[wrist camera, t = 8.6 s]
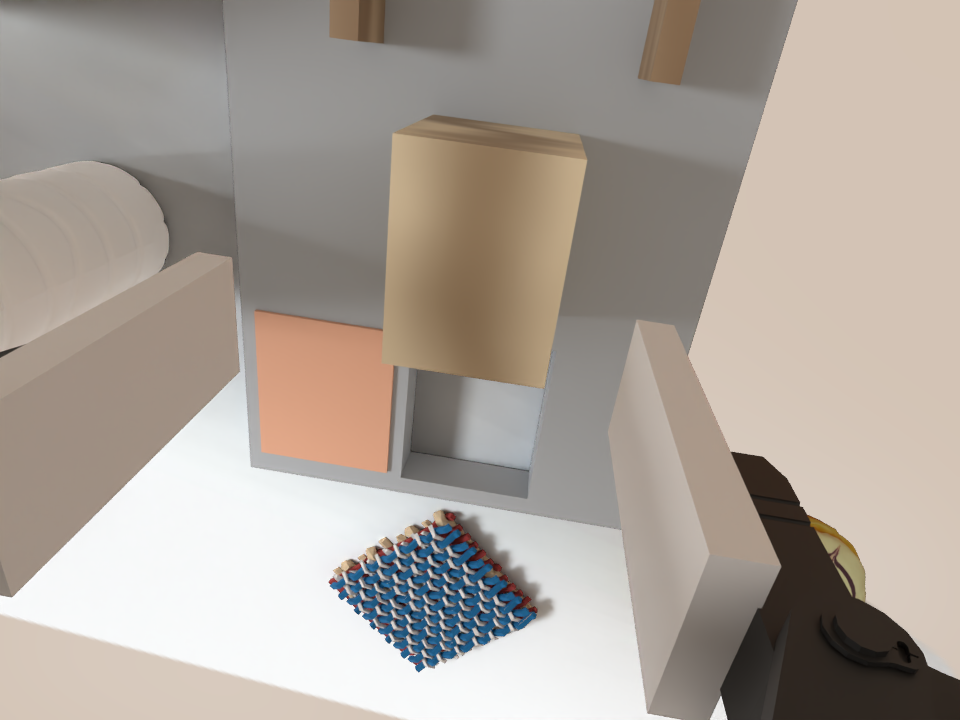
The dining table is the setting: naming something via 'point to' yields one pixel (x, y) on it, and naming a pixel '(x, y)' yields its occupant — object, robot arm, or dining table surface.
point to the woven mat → (433, 593)
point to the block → (478, 246)
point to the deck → (365, 210)
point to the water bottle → (72, 244)
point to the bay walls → (662, 61)
